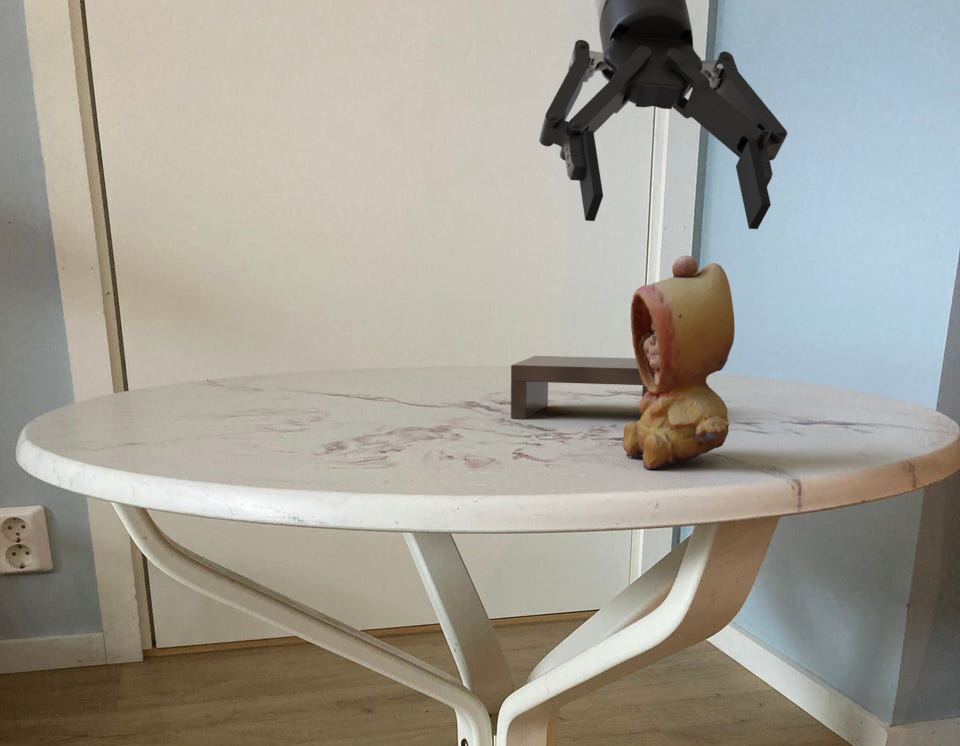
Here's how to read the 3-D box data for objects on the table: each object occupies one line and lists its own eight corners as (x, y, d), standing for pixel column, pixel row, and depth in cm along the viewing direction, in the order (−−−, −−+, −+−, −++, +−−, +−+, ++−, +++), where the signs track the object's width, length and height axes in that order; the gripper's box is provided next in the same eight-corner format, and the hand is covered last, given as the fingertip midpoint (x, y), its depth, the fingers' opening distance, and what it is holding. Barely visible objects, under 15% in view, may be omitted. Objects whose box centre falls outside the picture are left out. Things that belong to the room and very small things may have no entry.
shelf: (670, 410, 110) (672, 359, 108) (656, 424, 102) (659, 369, 100) (533, 405, 114) (534, 355, 112) (510, 418, 106) (510, 365, 104)
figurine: (607, 452, 89) (614, 254, 84) (694, 447, 90) (706, 254, 85) (655, 476, 80) (666, 256, 74) (751, 471, 81) (768, 255, 76)
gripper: (762, 64, 100) (806, 252, 92) (491, 43, 95) (513, 239, 88) (797, -12, 93) (847, 185, 85) (506, -38, 89) (532, 167, 81)
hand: (678, 213), depth 86 cm, fingers open, 13 cm apart
